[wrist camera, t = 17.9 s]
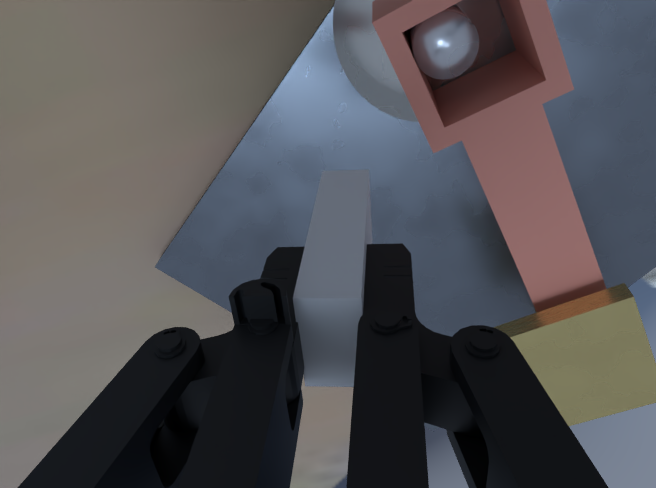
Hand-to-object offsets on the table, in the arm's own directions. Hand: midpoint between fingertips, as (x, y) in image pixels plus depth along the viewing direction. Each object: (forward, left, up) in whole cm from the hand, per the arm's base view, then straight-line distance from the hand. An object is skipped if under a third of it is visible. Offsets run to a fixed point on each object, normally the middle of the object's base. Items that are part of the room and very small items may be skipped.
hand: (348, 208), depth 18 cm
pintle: (-5, 0, -10) cm, 11 cm away
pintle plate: (+1, +7, -11) cm, 13 cm away
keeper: (+1, +15, -11) cm, 19 cm away
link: (-3, +7, -10) cm, 13 cm away
